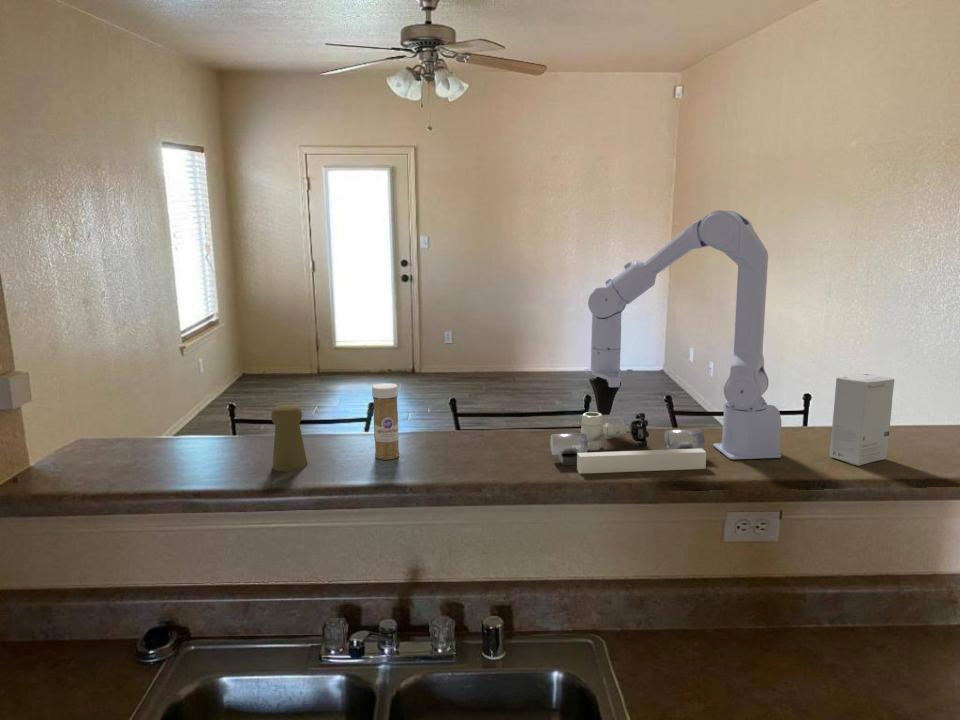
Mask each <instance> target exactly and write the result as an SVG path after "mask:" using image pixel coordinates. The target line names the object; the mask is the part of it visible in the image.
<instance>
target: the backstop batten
mask: <svg viewBox="0 0 960 720" xmlns="http://www.w3.org/2000/svg"><path fill="white" fill-rule="evenodd" d="M706 465H707V452H706V451H705V450H704V448H700V449H672V450H667V449H650V450H647V449H646V450H620V451H595V452H592V451H591V452H587V453H577V465H576V471H577V473H579V475H581V474H603V473H604V474H605V473H609V474H610V473H625V472H626V473H630V472H652V471H653V472H654V471H656V472H657V471H660V472H661V471H677V470H678V471H683V470H687V471H688V470H706Z"/></svg>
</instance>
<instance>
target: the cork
mask: <svg viewBox="0 0 960 720" xmlns="http://www.w3.org/2000/svg"><path fill="white" fill-rule="evenodd" d="M270 416H271V417H270V418H271V421H272V423H273V424H274V427H275V428H274V439H273V440H274V442H273V453H272V454H273V455H272V469H273V470H275V471H277V472H287V473H288V472H296V471H299V470H302V469H304V468H307V466H308V464H309V463H308V459H307V455H306V454H307V453H306V450H305V444H304V440H303V434H302V430H301V421H302V419H303V418H302V417H303V411H302V409H301V408H300V406H299V405H297V404H290V403H287V404H280V405H277V406H275V407H274V408H273V409H272V411H271V415H270Z"/></svg>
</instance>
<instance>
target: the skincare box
mask: <svg viewBox="0 0 960 720" xmlns="http://www.w3.org/2000/svg"><path fill="white" fill-rule="evenodd" d="M894 388H895V378H893V377H888V376H887V377H886V376H882V375H876V374H875V375H874V374H868V373H863V374H862V373H861V374H850V375H845V376H844V375H843V376H837V377H836V380H835V392H834V403H833V414H832V415H833V416H832V424H831V426H832V427H831V436H830V448H829V457H830V458H834V459H837V460H840V461H843V462H845V463H848V464H849V465H850V464H851V465H853V466H857V467H859V466H863V465H866V464H870V463H873V462H877V461H883V460H886V459H887V458H888V451H889V450H888V448H889V440H890V438H889V437H890V431H891V430H890V429H891V419H892V410H893V409H892V407H893V397H894Z"/></svg>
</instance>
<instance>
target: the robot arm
mask: <svg viewBox="0 0 960 720" xmlns="http://www.w3.org/2000/svg"><path fill="white" fill-rule="evenodd" d="M706 247H711V248H713V249H715V250H717V251H719V252H722V253H723V254H725V255H726V256H727V257H728V258H730V259H731V261H732V262H734V263H735V264H736V265H737V278H736V279H737V281H736V303H735V318H734V319H735V321H734V339H733V355H732V359H731V364H730V368H729V369H730V370H729V371H730V372H729V376H728V378H727V380H726V382H725V383H724V386H723V395H724V398H725V400H724V401H723V402H724V403H723V404H724V405H723V421H722V422H723V423H722V435H721V436H722V437H721V439H722V440H721V442H720V443H719V442H718V443H716V442H715V443H713V444H712V445H713V447H714V448H715V449H716V450H717V451H719V452H721V453H722V454H723V455H724V456H725V457H727V458H728V459H730V460H748V459H749V460H753V459H754V460H757V459H758V460H759V459H781V458H782V454H781V453H780V447H781V446H780V445H781V436H782V415H781V413H780V410H779V408H777V407H776V406H775V405H773V404H768V403H767V402H766V400H765V398H764V396H763V395H764V394H765V393H766V391H767V390H768V387H769V381H770V380H769V377H768V375H767V372H766V370H765V357H764V354H763V350H764V336H765V335H764V333H765V330H764V329H765V319H766V317H765V315H766V300H767V284H768V282H767V281H768V265H769V263H768V262H769V252H768V250H767V248H766V246H765V245H764V243H763V242H762V240H761V238H760V237H759V235H758V234H757V232H756V231H755V229H754V226H753V225H752V223H751V221H749V220H748V219H747V218H745V217H744V216H743V215H741V214H740V213H738V212H737V211H733V210H713V211H711V212H709V213H707V214H706V215H705V216H704V217H703V218H702V219H699V220H697V221H695V222H692V224H690V225H689V226H687V227H686V228H685V229H683V230H682V231H681V232H679V233H678V234H677V235H676V236H674V238H672V239H671V240H670V241H669V242H667V243H666V244H665V245H664V246H663V247H661V248H660V249H659V250H658V251H657V252H656V253H654V254H653V255H652V256H651V257H649V258H647V260H646V261H640V260H635V261H633V263H632V262H630V261H629V262H627V263H626V264H624V266H623V268H624V269H623V270H622V271H621V272H619V274H617V275H616V276H614V277H613V278H612V279H611V278H608V279H607V280H606V281H605V284H606V285H605V286H600V287H597V288H594V290H593V291H592V293H591V294H590V295H589V297H588V302H587V303H588V309H589V311H590V312H591V317H592V318H591V338H590V339H591V342H590V343H591V344H590V345H591V346H590V351H591V352H590V368H585V369H584V373H585V375H592V376H594V377H593V378H592V377H591V378H589V379H588V381H589V384H590V385H591V388H592V390H593V391H592V392H593V393H594V399H595V405H596V410H597V413H600V414H602V415H603V416H610V415H611V412H612V408H613V404H614V400H615V397H616V395H617V393H618V391H619V390H620V387H621V386H622V382H621V377H620V376H621V374H622V373H621V372H622V370H621V346H622V341H621V340H622V313H623V311H624V310H625V309H626V307H627V305H629V304H631V303H632V302H633V301H635V300H636V299H637V298H639V297H640V296H641V295H643V294H644V293H646V292H647V291H648V290H650V289H651V288H653V286H655V284H656V278H657V275H659V273H661V272H662V271H664V270H665V269H666V268H668V267H670V266H671V265H672V264H673V263H675V262H677V261H678V260H679V259H681V258H682V257H684V256H686V254H688V253H690V252H691V251H693V250H696V249H701V248H706Z"/></svg>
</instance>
